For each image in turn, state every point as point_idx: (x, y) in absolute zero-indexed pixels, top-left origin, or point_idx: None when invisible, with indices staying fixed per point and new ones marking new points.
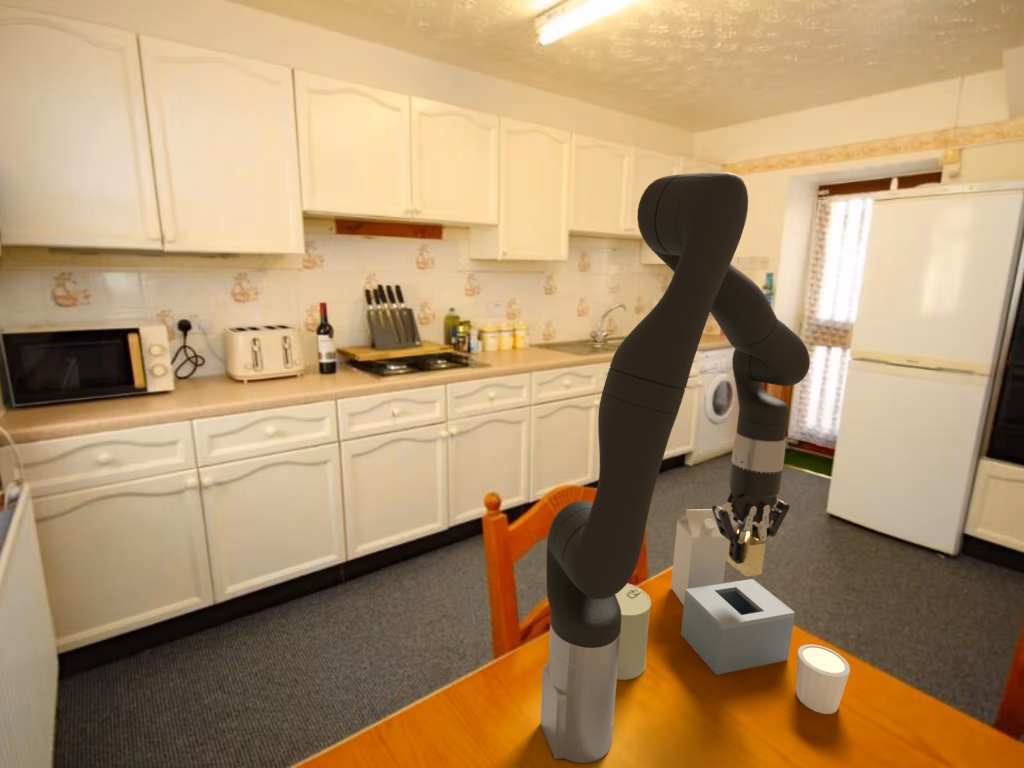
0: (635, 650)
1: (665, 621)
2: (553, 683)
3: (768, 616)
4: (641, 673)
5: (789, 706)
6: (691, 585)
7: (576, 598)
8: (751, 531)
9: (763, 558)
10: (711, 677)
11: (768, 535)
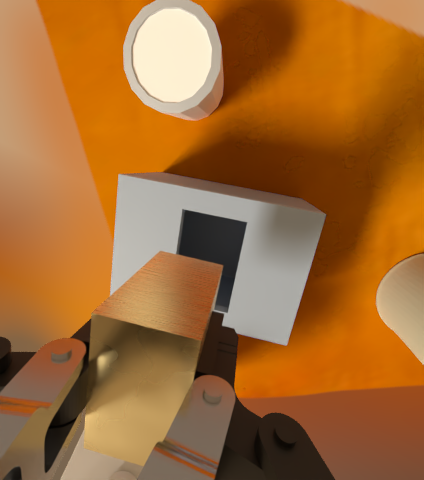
0: None
1: None
2: None
3: (190, 190)
4: (420, 254)
5: (250, 94)
6: None
7: None
8: (77, 421)
9: (134, 274)
10: (314, 198)
11: (16, 354)
